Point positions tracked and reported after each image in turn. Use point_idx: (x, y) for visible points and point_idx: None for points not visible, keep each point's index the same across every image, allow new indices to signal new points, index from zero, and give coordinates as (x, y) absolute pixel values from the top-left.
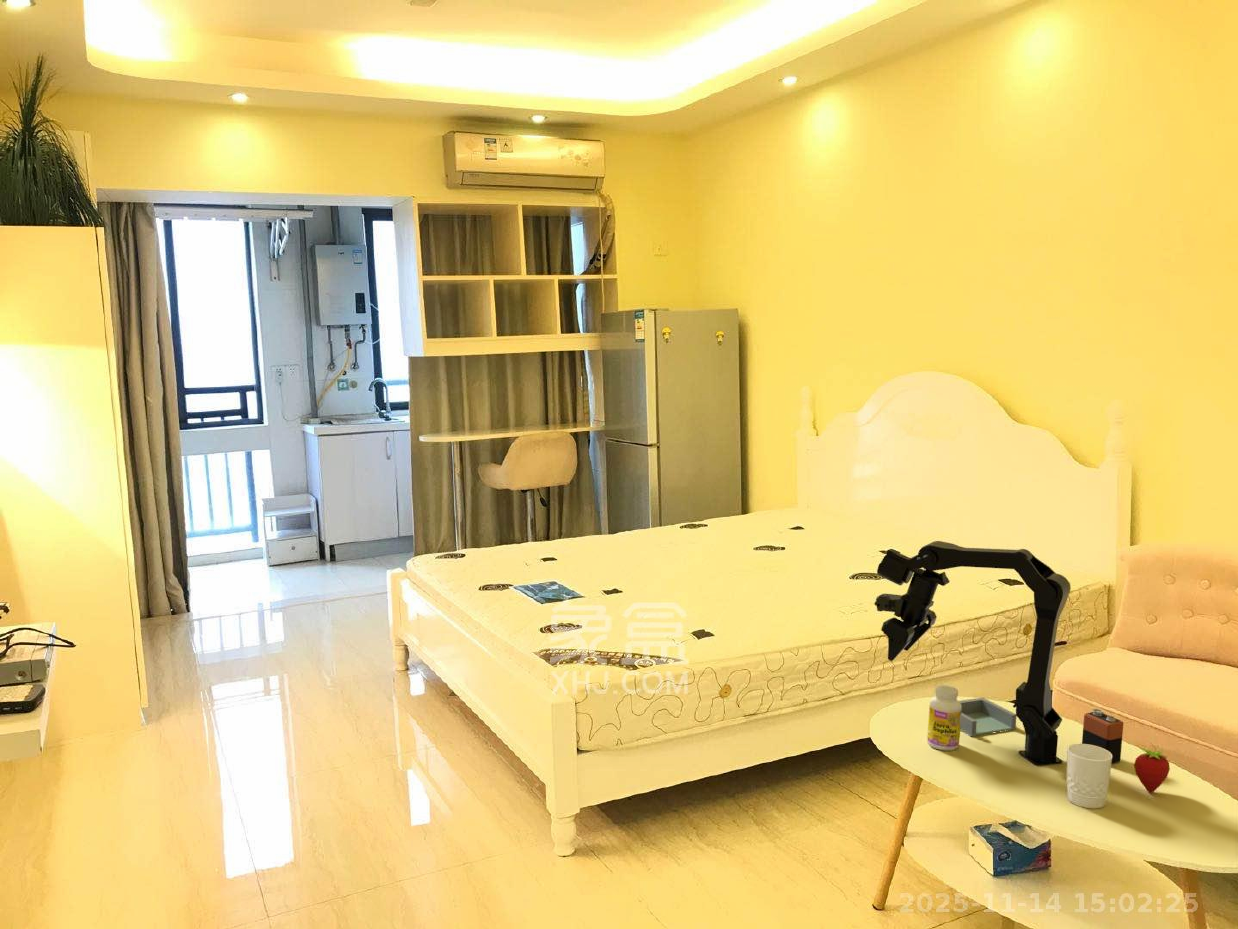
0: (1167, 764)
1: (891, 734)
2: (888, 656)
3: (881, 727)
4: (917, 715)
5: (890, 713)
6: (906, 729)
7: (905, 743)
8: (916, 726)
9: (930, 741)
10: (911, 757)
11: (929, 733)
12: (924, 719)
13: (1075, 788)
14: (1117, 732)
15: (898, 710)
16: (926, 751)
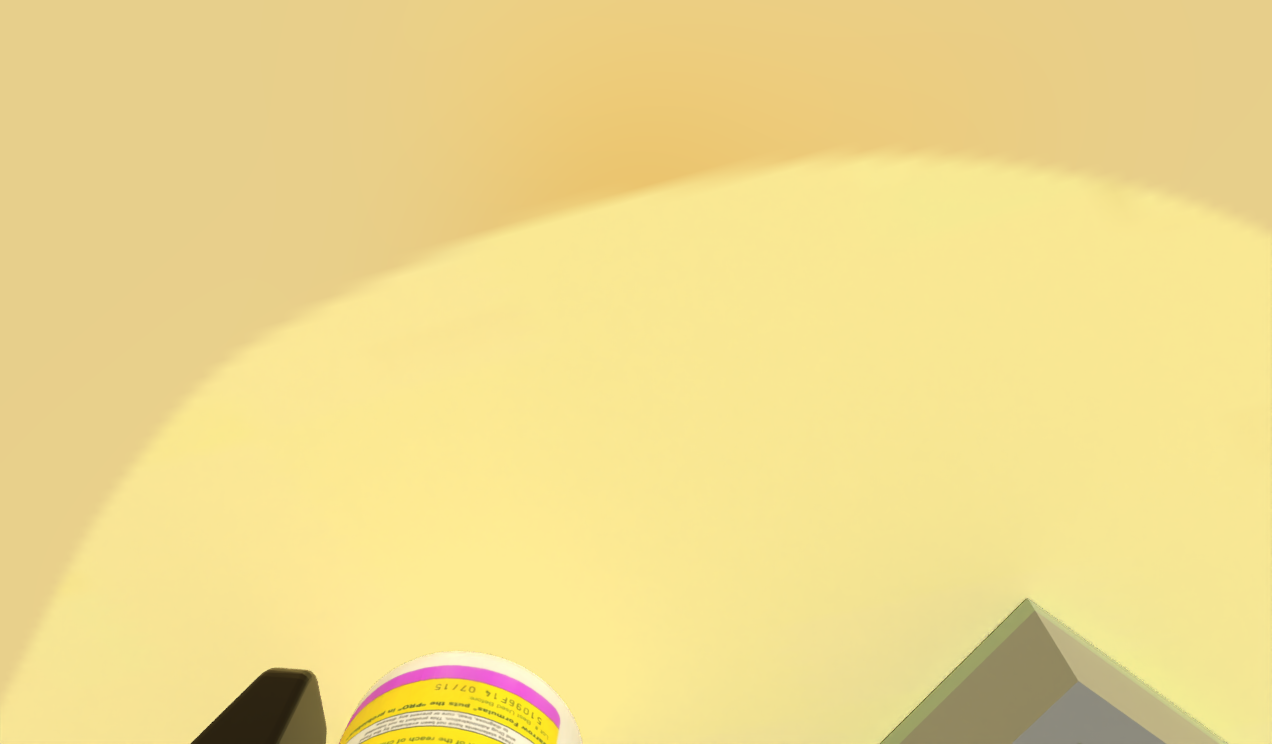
0: None
1: (431, 360)
2: (212, 733)
3: (533, 235)
4: (1018, 427)
5: (941, 196)
6: (623, 435)
7: (322, 509)
8: (742, 487)
9: (358, 708)
10: (99, 613)
11: (356, 733)
12: (948, 502)
13: None
14: None
15: (1065, 239)
16: None
